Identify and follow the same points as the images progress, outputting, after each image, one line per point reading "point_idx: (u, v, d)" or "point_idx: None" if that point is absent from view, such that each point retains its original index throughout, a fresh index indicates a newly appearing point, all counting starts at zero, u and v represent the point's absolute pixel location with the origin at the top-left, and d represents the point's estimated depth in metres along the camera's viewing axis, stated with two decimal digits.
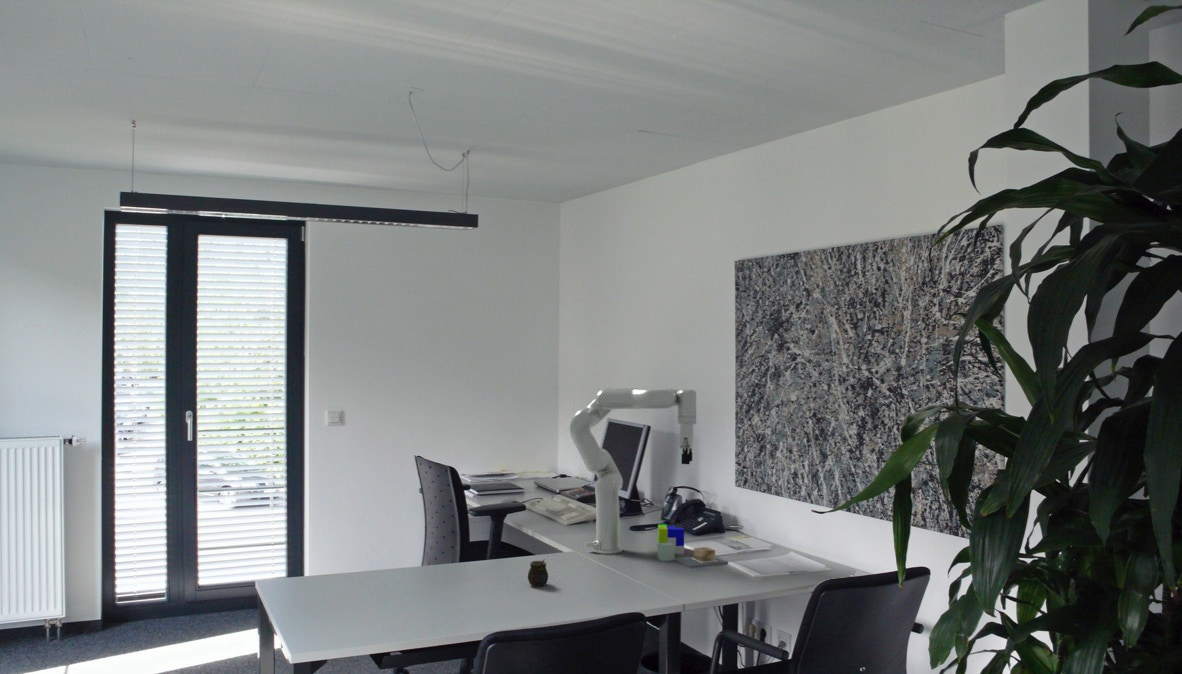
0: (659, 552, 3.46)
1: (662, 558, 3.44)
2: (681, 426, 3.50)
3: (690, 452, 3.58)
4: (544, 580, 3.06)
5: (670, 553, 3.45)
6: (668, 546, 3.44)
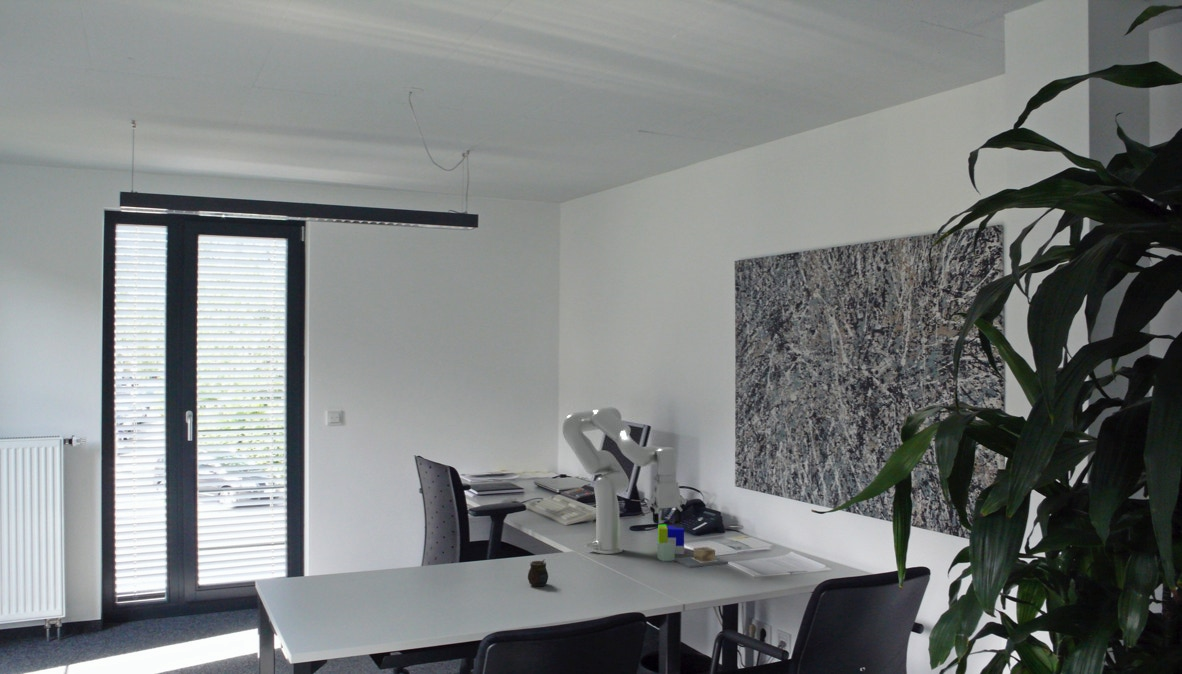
0: (659, 552, 3.46)
1: (662, 558, 3.44)
2: (678, 484, 3.47)
3: None
4: (544, 580, 3.06)
5: (670, 553, 3.45)
6: (668, 546, 3.44)
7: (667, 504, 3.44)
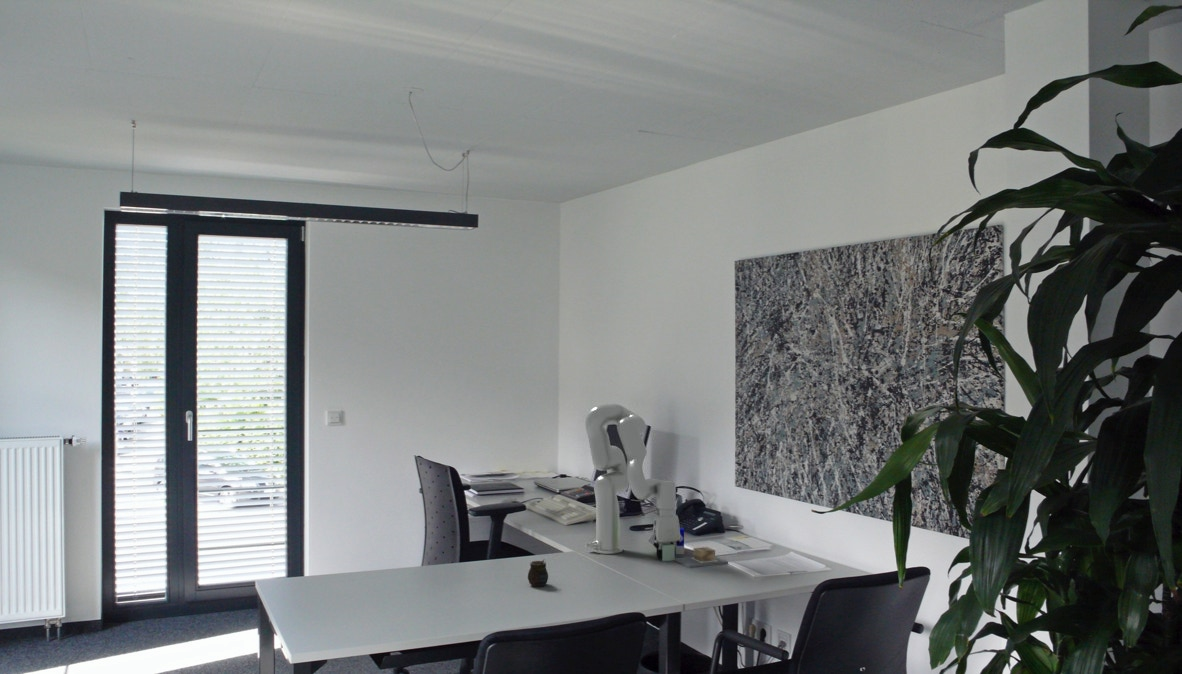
0: None
1: (662, 558, 3.44)
2: None
3: None
4: (544, 580, 3.06)
5: (670, 553, 3.45)
6: (668, 546, 3.44)
7: (666, 538, 3.44)
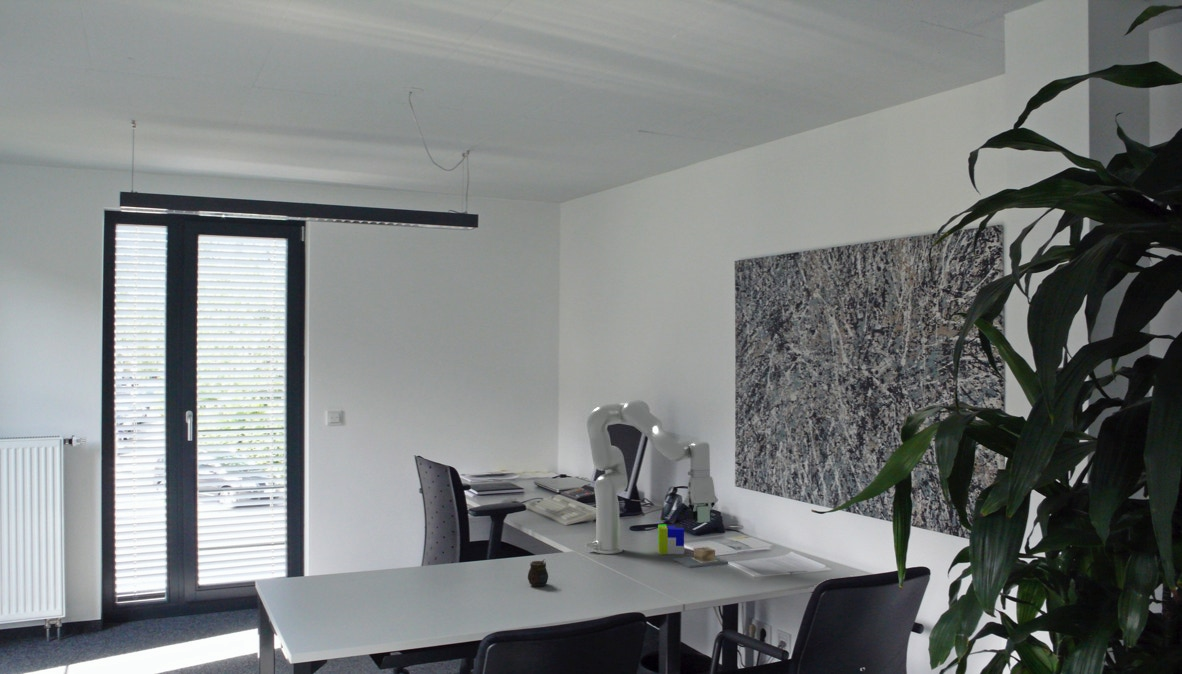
0: None
1: (697, 519, 3.40)
2: (712, 479, 3.43)
3: None
4: (544, 580, 3.06)
5: (706, 514, 3.41)
6: (703, 507, 3.40)
7: (701, 499, 3.40)
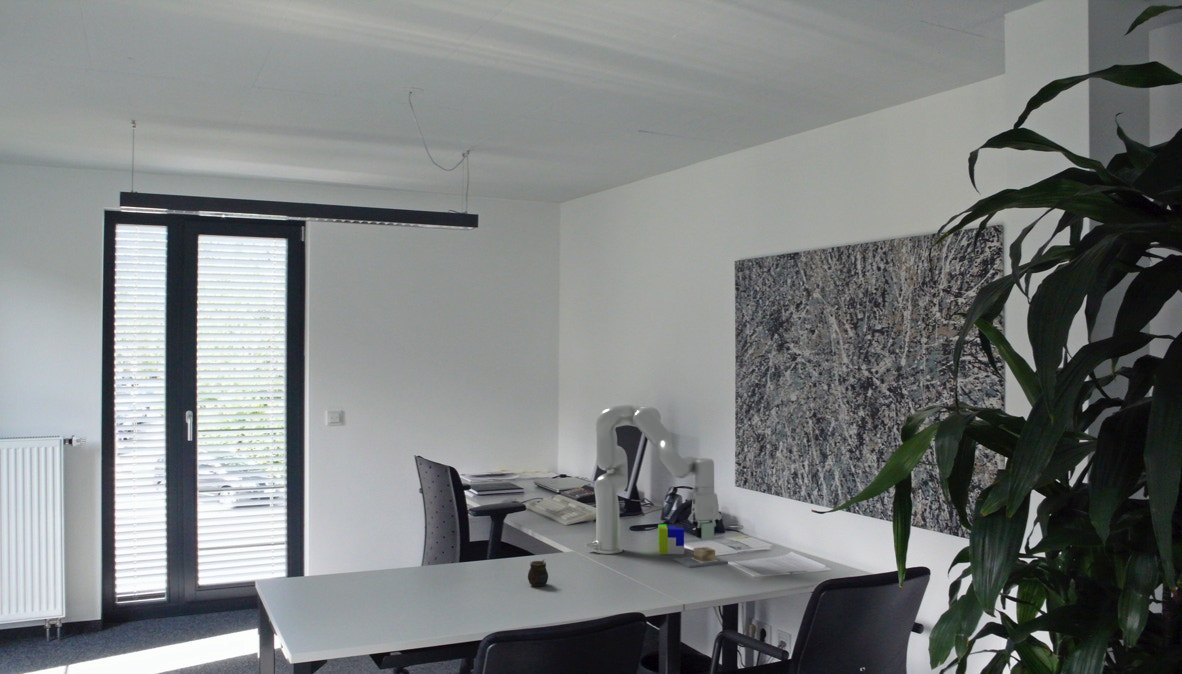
0: None
1: (701, 536, 3.40)
2: (716, 496, 3.42)
3: None
4: (544, 580, 3.06)
5: (710, 531, 3.40)
6: (707, 524, 3.40)
7: (705, 516, 3.39)
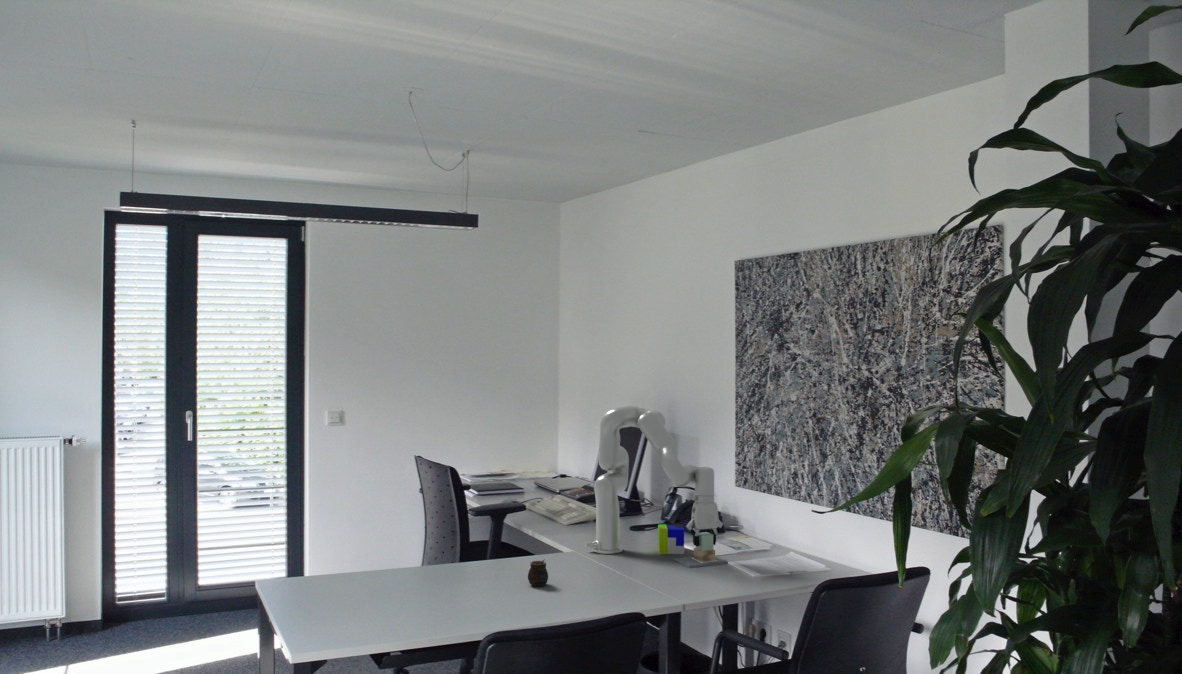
0: None
1: (701, 548, 3.40)
2: (716, 504, 3.42)
3: None
4: (544, 580, 3.06)
5: (709, 543, 3.40)
6: (707, 536, 3.40)
7: (705, 525, 3.39)
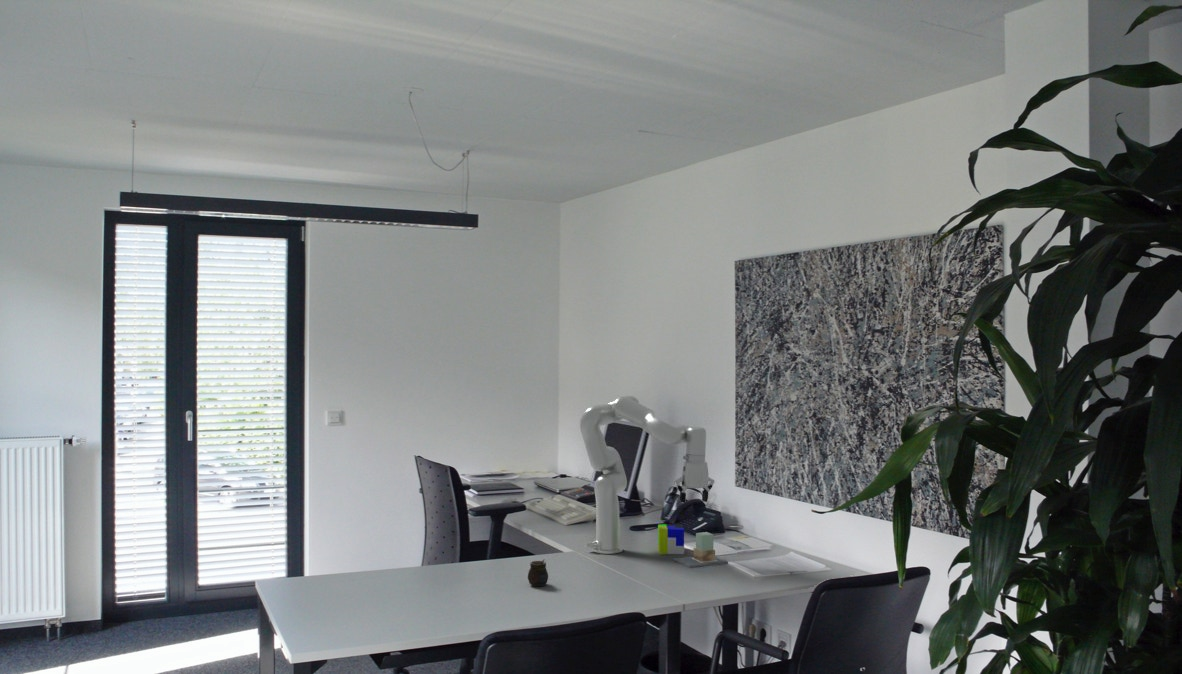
0: (697, 542, 3.42)
1: (701, 548, 3.40)
2: None
3: None
4: (544, 580, 3.06)
5: (709, 543, 3.40)
6: (707, 536, 3.40)
7: (695, 484, 3.42)
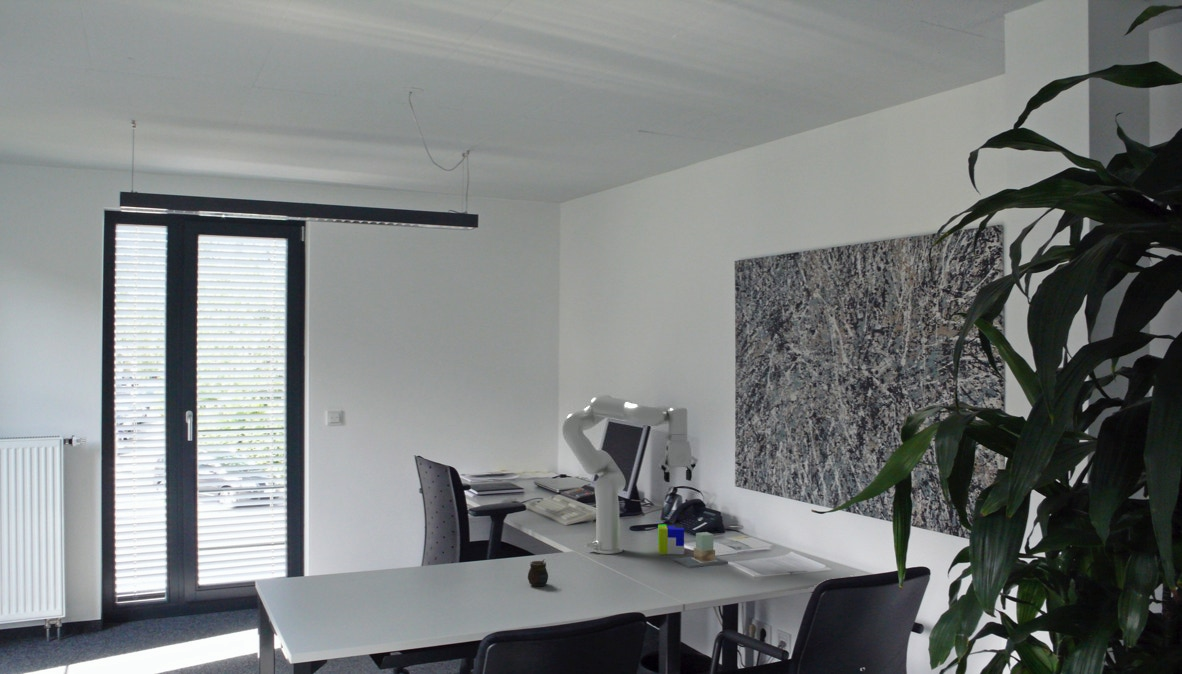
0: (697, 542, 3.42)
1: (701, 548, 3.40)
2: (689, 443, 3.51)
3: None
4: (544, 580, 3.06)
5: (709, 543, 3.40)
6: (707, 536, 3.40)
7: (678, 463, 3.48)
